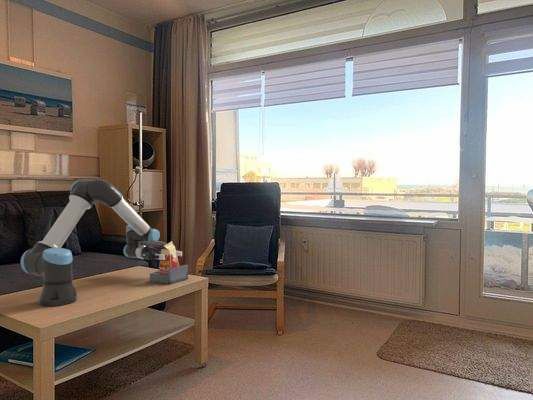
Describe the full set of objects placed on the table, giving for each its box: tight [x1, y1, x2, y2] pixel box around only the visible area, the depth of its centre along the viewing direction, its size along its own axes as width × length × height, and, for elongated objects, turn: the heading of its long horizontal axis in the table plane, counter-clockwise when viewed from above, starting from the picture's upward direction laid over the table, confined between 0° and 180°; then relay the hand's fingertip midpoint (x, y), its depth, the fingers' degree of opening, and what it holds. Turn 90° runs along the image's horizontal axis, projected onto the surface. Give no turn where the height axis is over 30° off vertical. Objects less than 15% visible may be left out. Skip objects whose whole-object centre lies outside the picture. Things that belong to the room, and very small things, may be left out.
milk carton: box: [158, 241, 180, 275], centre depth 220 cm, size 9×9×20 cm
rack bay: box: [149, 264, 189, 285], centre depth 220 cm, size 14×15×8 cm
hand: (173, 255), depth 218 cm, fingers open, 13 cm apart
